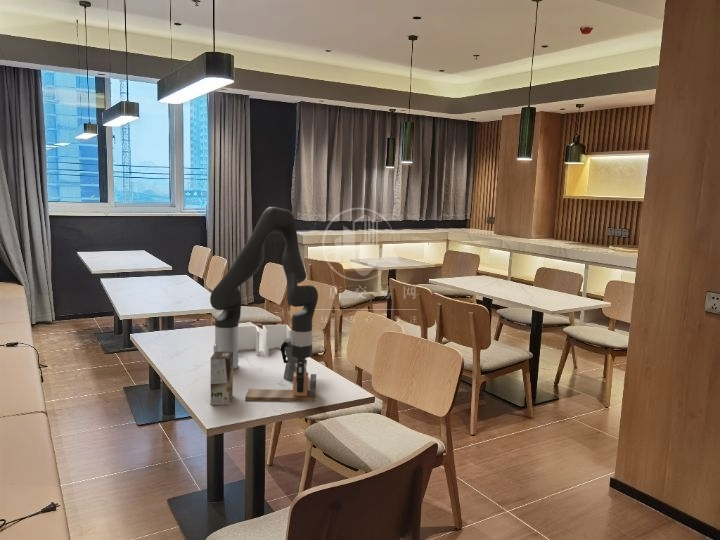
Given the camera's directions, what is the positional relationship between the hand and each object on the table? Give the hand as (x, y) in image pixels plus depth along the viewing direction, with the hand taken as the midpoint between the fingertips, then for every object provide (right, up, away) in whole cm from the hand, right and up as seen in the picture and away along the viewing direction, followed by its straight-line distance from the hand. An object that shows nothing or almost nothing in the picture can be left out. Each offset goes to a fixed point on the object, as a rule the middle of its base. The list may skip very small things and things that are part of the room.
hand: (300, 389), depth 203 cm
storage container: (-23, +5, +55) cm, 60 cm away
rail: (-7, -3, 0) cm, 7 cm away
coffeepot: (-5, 0, +20) cm, 21 cm away
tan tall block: (0, -1, 0) cm, 2 cm away
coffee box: (-27, -3, -5) cm, 27 cm away
